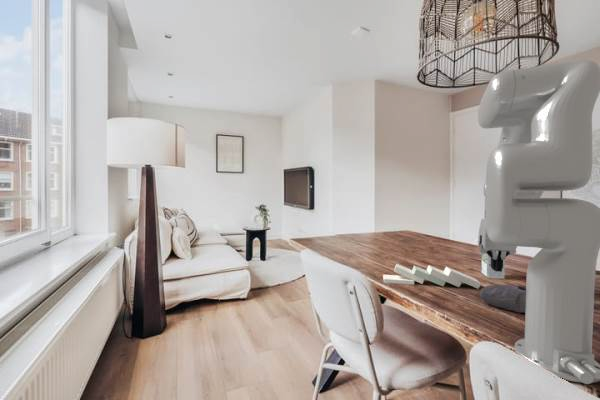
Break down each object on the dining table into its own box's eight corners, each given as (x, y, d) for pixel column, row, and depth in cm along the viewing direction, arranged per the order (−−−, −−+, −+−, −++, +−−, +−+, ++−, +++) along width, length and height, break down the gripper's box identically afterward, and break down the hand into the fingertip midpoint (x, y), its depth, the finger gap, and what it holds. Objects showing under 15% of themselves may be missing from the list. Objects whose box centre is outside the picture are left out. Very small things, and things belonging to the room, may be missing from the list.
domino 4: (461, 282, 93) (432, 269, 95) (459, 287, 94) (429, 274, 95) (457, 277, 98) (428, 264, 100) (454, 282, 98) (426, 269, 100)
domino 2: (424, 278, 96) (395, 266, 100) (422, 284, 97) (393, 271, 100) (423, 275, 101) (396, 263, 104) (421, 280, 101) (394, 268, 105)
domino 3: (445, 281, 95) (415, 269, 97) (443, 286, 95) (413, 274, 97) (442, 276, 99) (414, 265, 102) (440, 281, 100) (411, 270, 102)
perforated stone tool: (478, 306, 80) (478, 282, 79) (480, 300, 84) (481, 277, 83) (548, 321, 70) (549, 294, 70) (547, 314, 74) (548, 288, 74)
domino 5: (481, 283, 92) (450, 270, 94) (478, 288, 92) (448, 276, 94) (474, 278, 97) (446, 266, 99) (472, 283, 97) (443, 271, 99)
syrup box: (505, 279, 101) (506, 239, 101) (486, 278, 103) (487, 239, 102) (497, 274, 107) (498, 236, 106) (480, 273, 108) (481, 236, 107)
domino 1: (414, 281, 97) (384, 279, 99) (414, 286, 97) (384, 284, 99) (411, 276, 102) (383, 274, 104) (411, 281, 102) (383, 279, 104)
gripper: (516, 214, 95) (515, 268, 96) (468, 214, 98) (467, 266, 99) (530, 217, 88) (529, 275, 89) (478, 216, 90) (477, 272, 91)
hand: (496, 270), depth 94 cm, fingers closed
